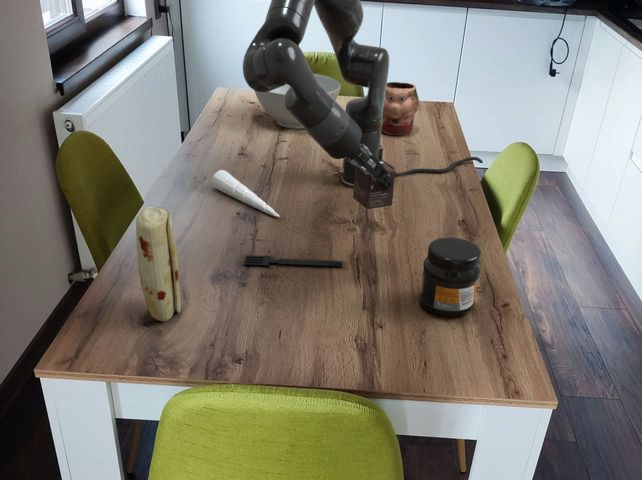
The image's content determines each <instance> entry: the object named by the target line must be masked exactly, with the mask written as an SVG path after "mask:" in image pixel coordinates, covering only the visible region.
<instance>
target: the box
mask: <svg viewBox="0 0 642 480" xmlns="http://www.w3.org/2000/svg"><path fill="white" fill-rule="evenodd" d="M379 162H380V163H381V164H382V165H383V167H384V168H385V169H386V170H388V172H389V174H388V176H389V177H390V178H391V179H392V180H393V181H394V182H395V180H396V179H395V178H396V176H395V172H396V170H395V168H394V169H392V168H391V167H389V166H388V165H386V164H385V163H384V162H382V161H379ZM363 168H364V169H366V168H365V166H364V167H363ZM394 190H395V184H394V185H393V186H392V187H391V189H390V190H389V191H386V190H385V189H384V188H383V187H382V186H381V185H380V184H379V183H378V182H377V181H375V180H374V178H373V177H372V176H371V175H370V174H365V173H364V172H362V171H361V170H360V169H359V168H358V167H357V166H356V165H355V179H354V187H353V193H352V198H353V199H354V200H355V201H356V202H357V203H358V204H360V206H362V207H363V208H365V209H366V210H371V209H378V208H385V207H391V206H392V205H393V200H394Z"/></svg>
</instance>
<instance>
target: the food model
mask: <svg viewBox="0 0 642 480" xmlns="http://www.w3.org/2000/svg"><path fill="white" fill-rule="evenodd" d="M135 236H136V256H137V257H136V258H137V265H138V266H137V267H138V275H139V276H138V277H139V280H140V285H141V289H142V293H143V297H144V300H145V304H146V306H147V311H148V315H149V316H150V318H151V320H152V321H154V322H166V321H168V320H170V319H171V318H172V317H173V316H174V314H175V312H176V313H177V314H180V313H181V310H182V308H181V307H182V305H181V292H180V291H181V290H180V279H179V277H180V275H179V259H178V258H179V257H178V252H177V247H176V240H175V239H176V238H175V231H174V224H173V216H172V214H171V212H170V211H169V210H168V209H167V208H165V207H160V206H159V207H154V206H150V205H149V206H145V207H144V208H143V209H141V210H140V212H139V213H138V214H137V215H136V218H135Z"/></svg>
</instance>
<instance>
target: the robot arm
mask: <svg viewBox="0 0 642 480" xmlns="http://www.w3.org/2000/svg"><path fill="white" fill-rule="evenodd" d="M313 8H314V9H315V12H316V15H317V16H318V19H319V21H320V24H321V25H322V27H323V29H324V31H325V33H326V35H327V37H328V41H329V42H330V44H331V47H332V49H333V52H334V55H335V59H336V63H337V65H338V69H339V72H340V75H341V77H342V79H343V81H344V82H345V83H347V84H348V85H351V86H354V87H355V86H356V87H362V88H367V95H365V96H362V97H355V98H353V99H350V100H349V101H347V102H346V104H345V109H344V108H343V107H342V106H341V105H340V104H339V103H338V102H337V101H334V100H333V99H332V98H331V97H330V96H329V95H328V94H327V93H326V92H325V91H324V89H323V88H322V87H321V86H320V85H319V84H318V83H317V81H316V79H315V77H314V75H313V74H314V73H313V70H312V69H311V67H310V64H309V63H308V61H307V58H306V56H305V54H304V52H303V50H302V48H300V46H299V45H300V44H301V43H302V41H303V40H304V37H305V34H306V30H307V27H308V24H309V21H310V17H311V13H312V12H313V11H312V10H313ZM363 21H364V9H363V5H362V2H361V0H271V1H270V3H269V7H268V10H267V13H266V16H265V20H264V22H263V24H262V25H261V27H260V28H259V30H258V31H256V32H257V33H256V34H255V35H254V37H253V39H252V40H251V42H250V43H249V45H248V47H247V49H246V51H245V53H244V56H243V60H242V74H243V79H244V80H245V83H246V84H247V86H248V87H249V88H250V89H252V90H253V91H254V90H255V91H257V92H262V93H263V92H269V91H272V90H274V89H276V88H279V87H281V86H284V85H286V84H288V85H289V86H290V88H289V89H288V90H287V92H286V94H285V97H284V105H285V107H286V109H287V110H288V111H289V113H290V114H291V115H292V116H293V117H294V118H295V119H296V120H297V121H298V122H299V123H300V124H301V125H302V126H303V127H304V128H303V129H305V131H306V133H307V134H308V135H309V136H310V138H312V139H313V140H314V141H315V142H316V143H317V144H318V145H319V146H320V148H321V149H323V150H324V152H326V154H328V156H329V157H330V158H332V159H335V160H342V164H340V165H341V167H340V169H341V170H340V171H341V182H342V183H343V185H346V186H348V187H351V188H354V179H355V165H356V166H357V167H358V168H359V169H360V170H361V171H362V172H364V173H365V174H370V175H371V176H372V177H373V178H374V180H375V181H377V182H378V183H379V184H380V185H381V186H382V187H383V188H384V189H385V190H386V191H389V190H390V189H391V187H392V186H393V185H394V186H395V180H394V181H393V180H392V179H391V178H390V177H389V176H388V174H389V172H388V170H386V169H385V168H384V167H383V165H382V164H381V163H380V162H379V161H382V162H384V163H385V164H386V165H388V166H389V167H391V168H392V169H394V170H395V167H394V166H393V165H391V164H389V163H388V162H387V161H385V160H384V159H383V155H384V146H383V145H381V141H382V140H381V139H382V124H383V117H382V116H383V108H384V103H385V95H386V86H387V83H388V79H389V70H390V55H389V52H388V50H387V49H386V48H384V47H381V46H373V45H367V44H360V43H358V42H356V41H355V39H354V38H355V37H356V36H357V34H358V33H359V31H360V29H361V27H362V24H363ZM255 91H254V92H255ZM470 161H476V162H478V163H479V164H483V163H484V161H483V160H482V159H481V158H480V157H477V156H470V157H466V158H463V159H460V160H457V161H454V162H453V163H452V164H450V165H449V166H448V167H445V168H437V169H436V168H413V169H409V170H406V171H404V172H399V173H398V172H396V171H395V177H402V176H408V175H411V174H414V173H433V174H441V173H447V172H449V171H451V170H452V169H454V167H455V166H457V165H461V164H464V163H467V162H470ZM364 166H365V168H366V169H364V168H363V167H364Z"/></svg>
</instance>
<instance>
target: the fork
mask: <svg viewBox="0 0 642 480" xmlns="http://www.w3.org/2000/svg"><path fill="white" fill-rule="evenodd" d="M243 265H244V267H255V268H256V267H258V268H269V267H270V265H278V267H279V266H281V267H282V266H283V267H301V268H302V267H305V268H324V269H325V268H326V269H327V268H329V269H343V261H342V260H325V259H324V260H320V259H299V258H279V259H277V258H271V255H249V254H248V255H247V254H246V255H245V260H244V264H243Z"/></svg>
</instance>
